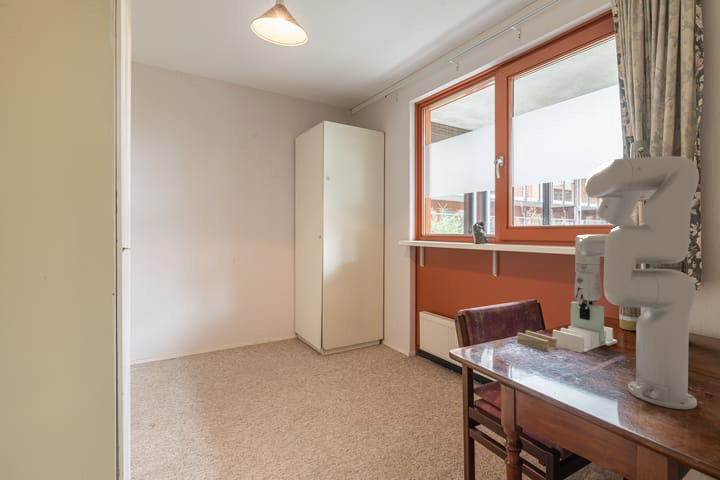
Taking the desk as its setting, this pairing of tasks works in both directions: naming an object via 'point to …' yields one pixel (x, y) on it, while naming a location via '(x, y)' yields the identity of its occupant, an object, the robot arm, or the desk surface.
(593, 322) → the plate
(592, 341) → the dish rack
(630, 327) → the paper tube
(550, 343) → the plate stand
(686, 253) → the robot arm
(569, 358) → the desk surface
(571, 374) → the desk surface
